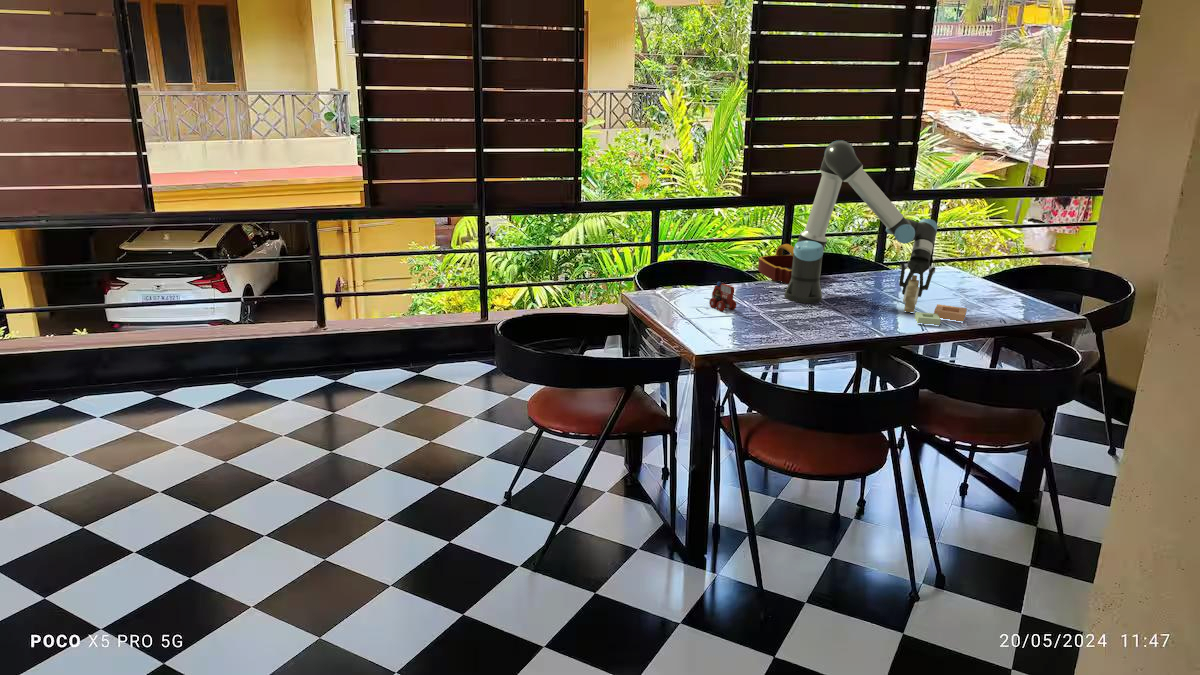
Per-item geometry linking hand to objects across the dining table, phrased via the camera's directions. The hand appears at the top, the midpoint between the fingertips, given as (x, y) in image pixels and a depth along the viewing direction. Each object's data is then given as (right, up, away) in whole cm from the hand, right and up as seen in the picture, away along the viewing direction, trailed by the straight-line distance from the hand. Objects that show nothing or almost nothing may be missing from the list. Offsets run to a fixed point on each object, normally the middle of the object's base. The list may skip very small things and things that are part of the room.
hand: (909, 301), depth 332 cm
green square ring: (+3, -9, -9) cm, 13 cm away
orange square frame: (+15, -6, 0) cm, 17 cm away
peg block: (+1, -4, +5) cm, 6 cm away
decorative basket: (-34, +14, +60) cm, 71 cm away
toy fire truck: (-74, -3, +1) cm, 74 cm away
